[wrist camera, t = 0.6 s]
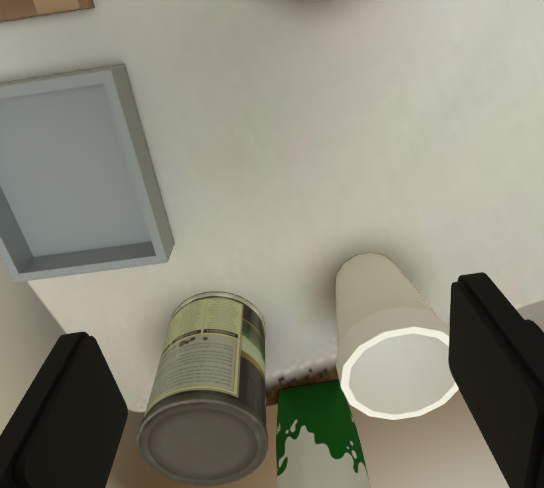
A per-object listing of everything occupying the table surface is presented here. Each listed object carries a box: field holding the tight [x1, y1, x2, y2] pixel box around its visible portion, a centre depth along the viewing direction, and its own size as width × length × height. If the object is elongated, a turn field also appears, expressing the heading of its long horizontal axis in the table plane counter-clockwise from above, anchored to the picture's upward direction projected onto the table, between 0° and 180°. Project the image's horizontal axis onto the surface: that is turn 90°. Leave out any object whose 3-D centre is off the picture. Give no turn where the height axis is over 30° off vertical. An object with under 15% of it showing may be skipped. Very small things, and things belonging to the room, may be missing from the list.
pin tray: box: [0, 64, 174, 282], centre depth 37 cm, size 16×14×4 cm
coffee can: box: [137, 292, 268, 486], centre depth 41 cm, size 10×10×14 cm
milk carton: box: [276, 380, 371, 488], centre depth 44 cm, size 9×9×20 cm
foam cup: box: [335, 253, 459, 420], centre depth 39 cm, size 10×9×13 cm
